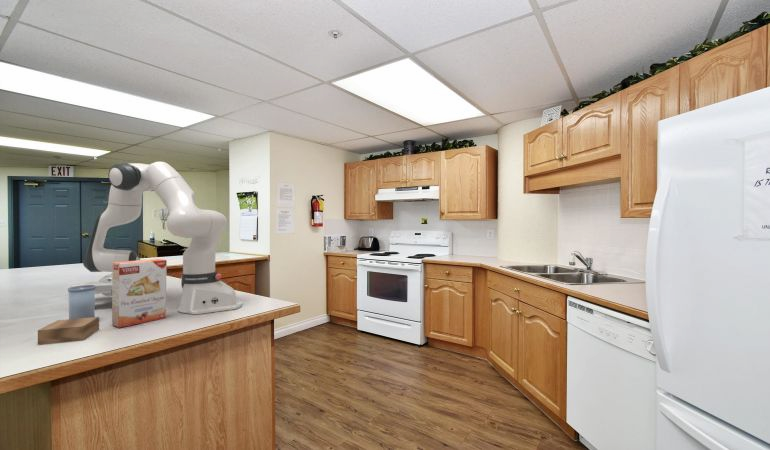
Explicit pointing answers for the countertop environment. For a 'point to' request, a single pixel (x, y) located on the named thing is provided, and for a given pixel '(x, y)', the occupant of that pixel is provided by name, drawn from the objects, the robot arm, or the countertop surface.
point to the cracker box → (138, 291)
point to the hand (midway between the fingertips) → (97, 291)
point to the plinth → (68, 330)
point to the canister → (81, 301)
